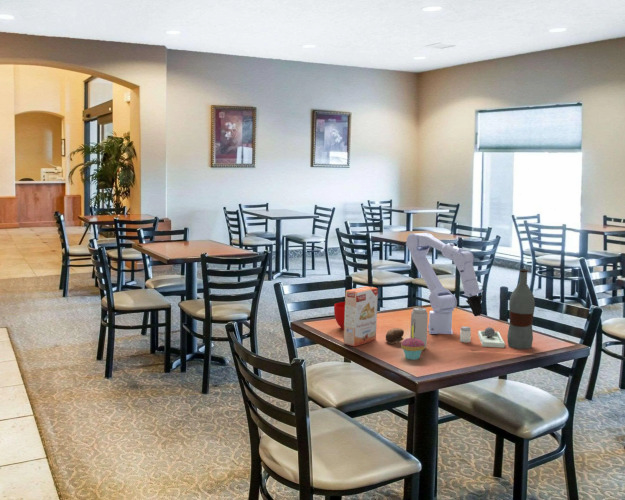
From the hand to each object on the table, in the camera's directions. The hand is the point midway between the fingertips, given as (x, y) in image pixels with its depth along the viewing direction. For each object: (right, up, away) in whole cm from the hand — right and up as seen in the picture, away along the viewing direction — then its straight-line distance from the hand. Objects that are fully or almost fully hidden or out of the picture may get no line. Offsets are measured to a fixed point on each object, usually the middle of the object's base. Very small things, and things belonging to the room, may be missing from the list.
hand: (478, 315), depth 251 cm
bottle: (+14, -12, -5) cm, 19 cm away
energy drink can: (-25, -12, -8) cm, 28 cm away
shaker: (-5, -11, +1) cm, 12 cm away
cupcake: (-28, -13, -20) cm, 37 cm away
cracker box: (-46, -10, -1) cm, 47 cm away
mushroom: (-32, -11, -1) cm, 34 cm away
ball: (+6, -9, +7) cm, 13 cm away
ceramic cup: (-47, -8, +22) cm, 52 cm away
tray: (+5, -11, +2) cm, 12 cm away
